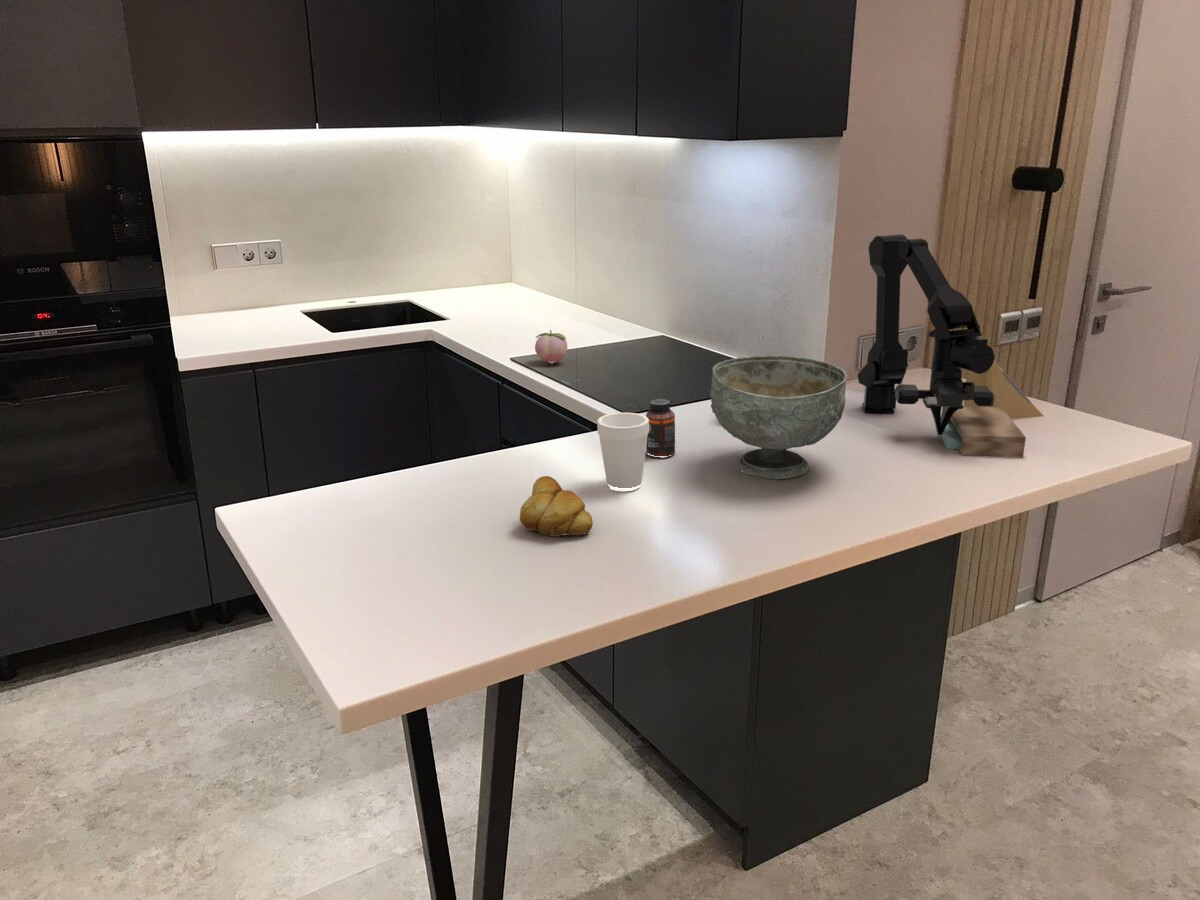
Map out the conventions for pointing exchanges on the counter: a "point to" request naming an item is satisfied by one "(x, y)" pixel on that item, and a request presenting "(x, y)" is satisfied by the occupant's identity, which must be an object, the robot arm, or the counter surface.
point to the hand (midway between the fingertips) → (939, 434)
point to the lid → (951, 437)
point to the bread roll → (554, 510)
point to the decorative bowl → (777, 408)
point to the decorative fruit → (551, 346)
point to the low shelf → (988, 432)
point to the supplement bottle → (661, 428)
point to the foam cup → (623, 447)
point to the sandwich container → (1003, 393)
